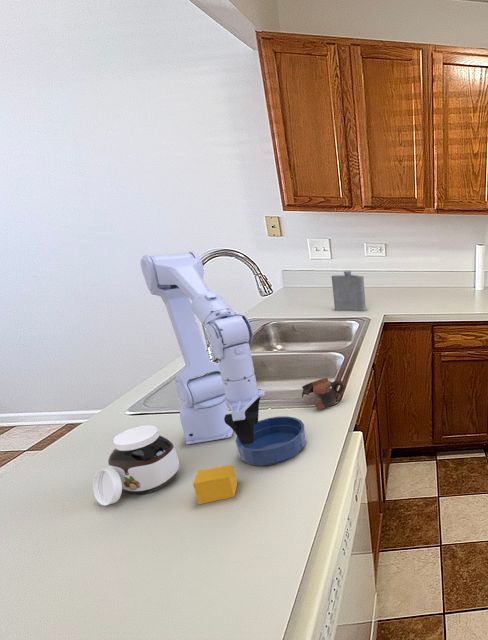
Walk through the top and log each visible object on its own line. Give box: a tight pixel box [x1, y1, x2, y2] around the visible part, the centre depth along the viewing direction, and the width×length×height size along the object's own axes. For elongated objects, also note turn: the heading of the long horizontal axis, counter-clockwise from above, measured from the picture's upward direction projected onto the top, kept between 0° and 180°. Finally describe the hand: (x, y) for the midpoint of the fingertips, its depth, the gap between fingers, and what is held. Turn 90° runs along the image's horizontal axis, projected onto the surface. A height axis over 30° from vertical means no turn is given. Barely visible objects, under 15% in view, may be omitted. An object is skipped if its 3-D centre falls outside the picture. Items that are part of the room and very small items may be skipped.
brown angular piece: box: [301, 377, 346, 411], centre depth 115 cm, size 12×10×8 cm
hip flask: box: [331, 270, 367, 312], centre depth 202 cm, size 16×4×20 cm, turn 90°
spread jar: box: [92, 424, 180, 506], centre depth 78 cm, size 12×11×12 cm
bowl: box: [235, 415, 307, 467], centre depth 93 cm, size 14×14×4 cm
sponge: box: [192, 464, 238, 505], centre depth 79 cm, size 6×4×5 cm, turn 112°
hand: (250, 432), depth 84 cm, fingers open, 7 cm apart
